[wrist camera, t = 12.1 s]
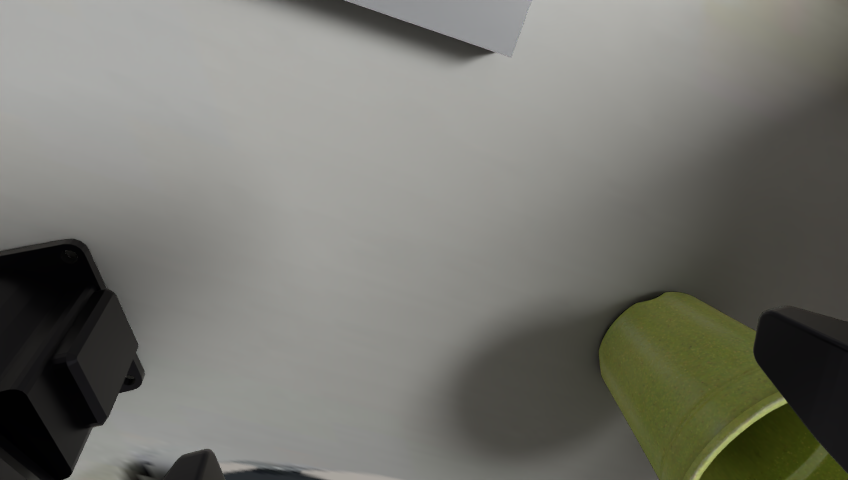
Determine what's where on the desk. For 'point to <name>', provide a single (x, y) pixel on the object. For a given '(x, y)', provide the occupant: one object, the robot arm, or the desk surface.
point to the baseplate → (462, 19)
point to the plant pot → (704, 397)
